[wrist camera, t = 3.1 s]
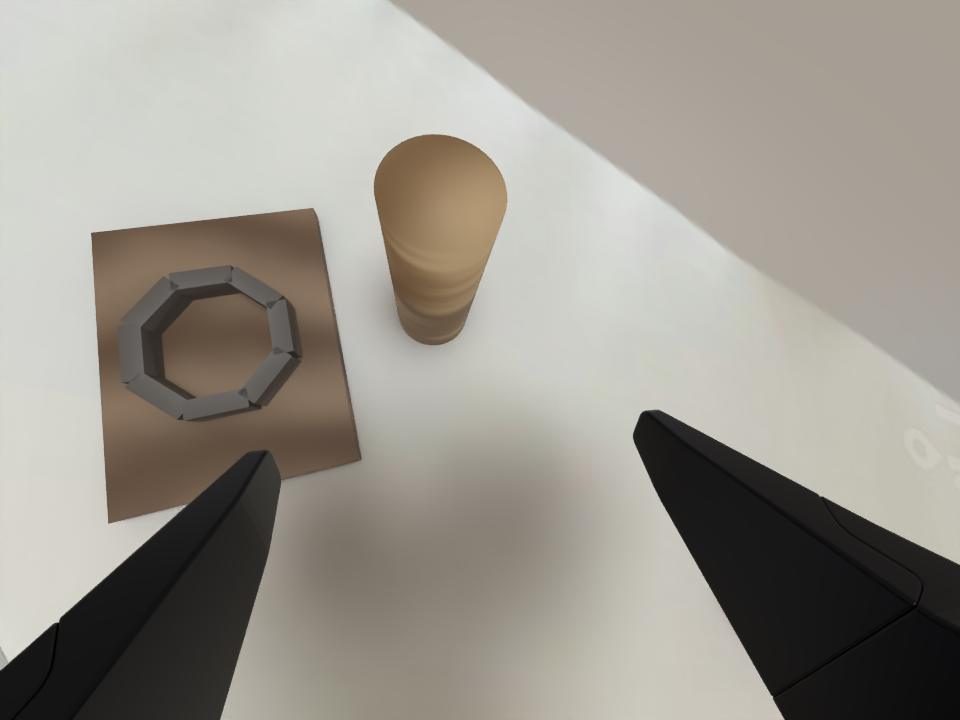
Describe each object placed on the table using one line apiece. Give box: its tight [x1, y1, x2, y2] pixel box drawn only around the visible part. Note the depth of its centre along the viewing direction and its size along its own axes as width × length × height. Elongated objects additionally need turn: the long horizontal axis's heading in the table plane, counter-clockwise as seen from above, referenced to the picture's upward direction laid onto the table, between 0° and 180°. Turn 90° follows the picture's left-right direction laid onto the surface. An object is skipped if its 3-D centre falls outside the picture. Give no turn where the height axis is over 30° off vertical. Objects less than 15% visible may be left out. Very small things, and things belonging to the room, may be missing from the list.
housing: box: [91, 208, 361, 524], centre depth 20 cm, size 16×12×2 cm
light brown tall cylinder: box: [374, 134, 507, 345], centre depth 17 cm, size 4×4×12 cm
